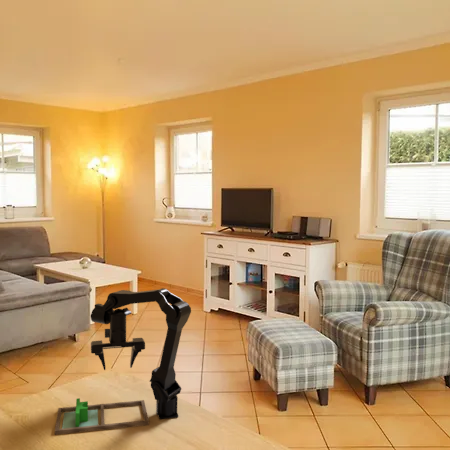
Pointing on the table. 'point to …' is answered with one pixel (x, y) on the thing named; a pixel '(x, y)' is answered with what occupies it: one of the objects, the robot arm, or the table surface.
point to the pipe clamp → (81, 411)
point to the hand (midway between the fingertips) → (117, 368)
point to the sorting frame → (96, 418)
